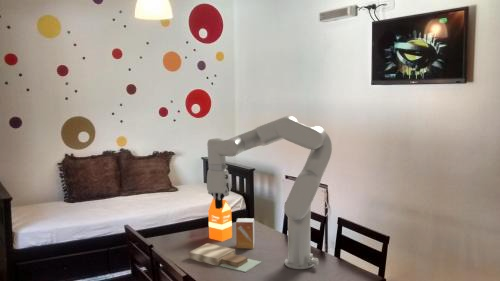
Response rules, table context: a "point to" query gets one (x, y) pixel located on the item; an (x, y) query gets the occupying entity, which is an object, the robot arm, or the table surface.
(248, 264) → the mat
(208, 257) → the deck
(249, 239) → the small box
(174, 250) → the table surface
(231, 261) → the tile
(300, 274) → the table surface
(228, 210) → the orange juice
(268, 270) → the table surface
